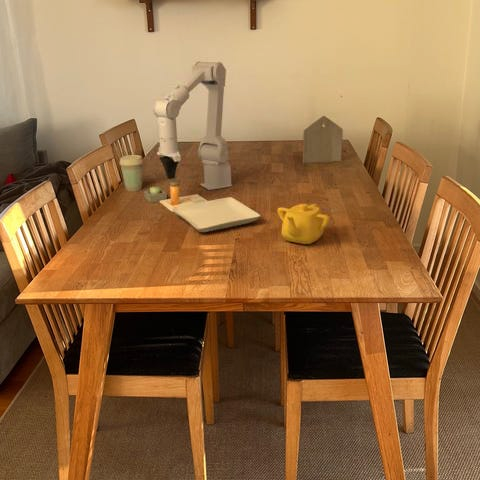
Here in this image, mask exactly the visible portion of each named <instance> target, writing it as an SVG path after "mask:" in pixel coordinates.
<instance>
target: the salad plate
mask: <svg viewBox="0 0 480 480" xmlns="http://www.w3.org/2000/svg"><path fill="white" fill-rule="evenodd" d="M173 211H174V212H173V213H174V214H176V215H177V216H179V218H182V220H184V221H186V222H187V223H188V224H189V225H191V226H192V227H193V228H194V229H195V230H196V231H198V232H200V233H209V231H210V232H213V231H214V230H215V231H219V229H220V230H224V228H225V229H228V228H229V227H230V228H233V226H234V227H238V225H239V226H242V224H243V225H247V224H250V223H253V222H255V221H257V220H259V218H260V217H261V215H260V214H259V212H256V211H255V210H254V209H251V208H250V207H248V206H247V205H245V204H244V203H242V202H241V201H239V200H237V199H235V198H234V197H232V196H230V197H229V196H228V197H224V198H218V199H212V200H211V199H210V200H207V201H206V202H201V203H196V204H191V205H186V206H181V207H176V208H173Z"/></svg>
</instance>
